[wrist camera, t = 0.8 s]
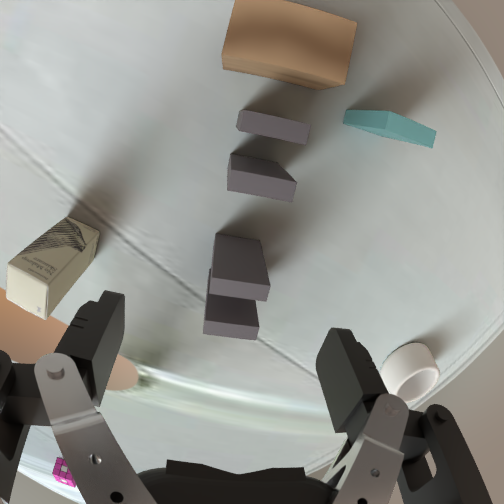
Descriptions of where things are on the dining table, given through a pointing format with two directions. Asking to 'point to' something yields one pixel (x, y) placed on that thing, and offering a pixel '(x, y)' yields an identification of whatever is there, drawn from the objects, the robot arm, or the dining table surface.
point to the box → (50, 266)
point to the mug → (410, 372)
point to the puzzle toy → (63, 473)
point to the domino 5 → (391, 126)
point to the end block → (288, 43)
